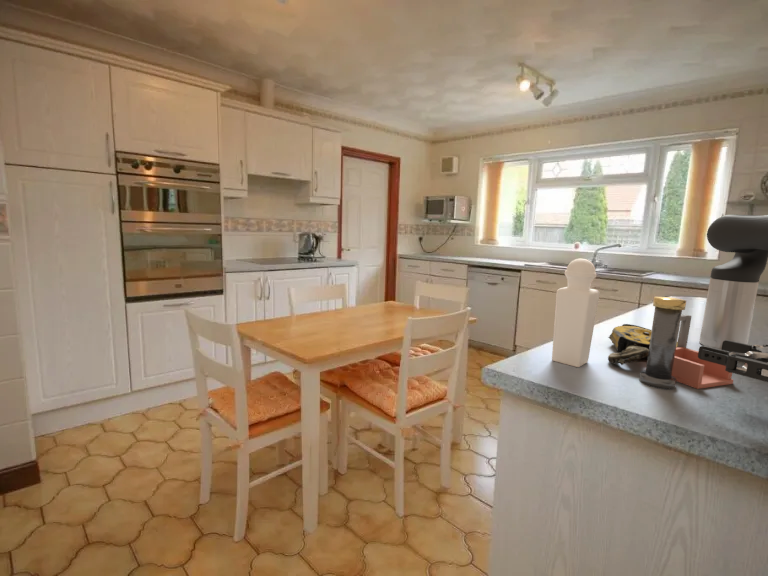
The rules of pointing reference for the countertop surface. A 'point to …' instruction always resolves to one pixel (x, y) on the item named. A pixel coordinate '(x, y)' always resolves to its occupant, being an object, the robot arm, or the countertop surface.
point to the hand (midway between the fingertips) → (711, 348)
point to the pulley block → (630, 344)
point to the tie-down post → (663, 343)
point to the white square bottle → (575, 314)
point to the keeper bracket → (696, 364)
